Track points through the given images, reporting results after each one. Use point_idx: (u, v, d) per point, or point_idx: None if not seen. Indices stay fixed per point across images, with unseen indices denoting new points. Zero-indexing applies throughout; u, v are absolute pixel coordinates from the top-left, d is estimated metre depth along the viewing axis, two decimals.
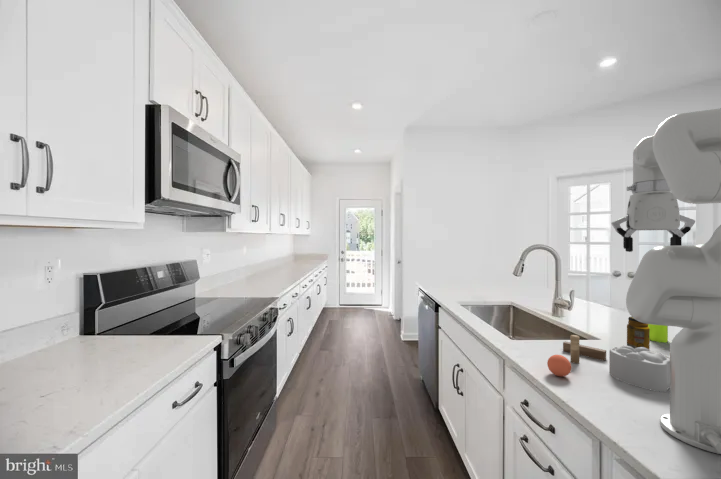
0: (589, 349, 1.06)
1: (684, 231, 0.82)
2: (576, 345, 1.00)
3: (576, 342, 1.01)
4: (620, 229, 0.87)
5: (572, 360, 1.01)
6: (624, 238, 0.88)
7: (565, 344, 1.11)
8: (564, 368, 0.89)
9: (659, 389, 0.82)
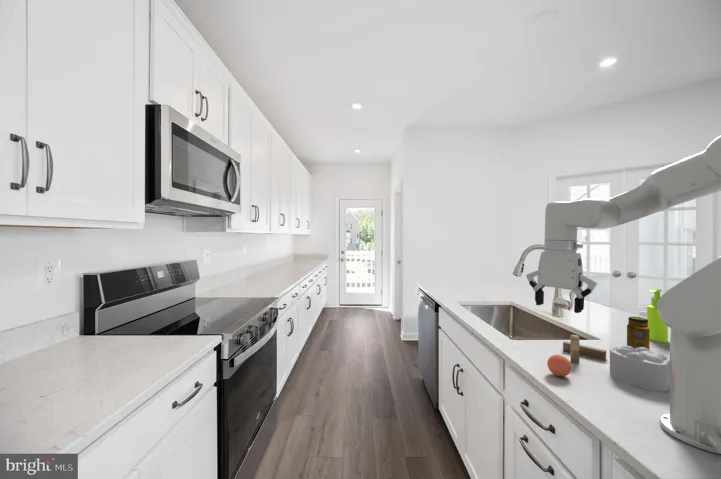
0: (589, 349, 1.06)
1: None
2: (576, 345, 1.00)
3: (576, 342, 1.01)
4: None
5: (572, 360, 1.01)
6: (583, 299, 0.82)
7: (565, 344, 1.11)
8: (564, 368, 0.89)
9: (659, 389, 0.82)
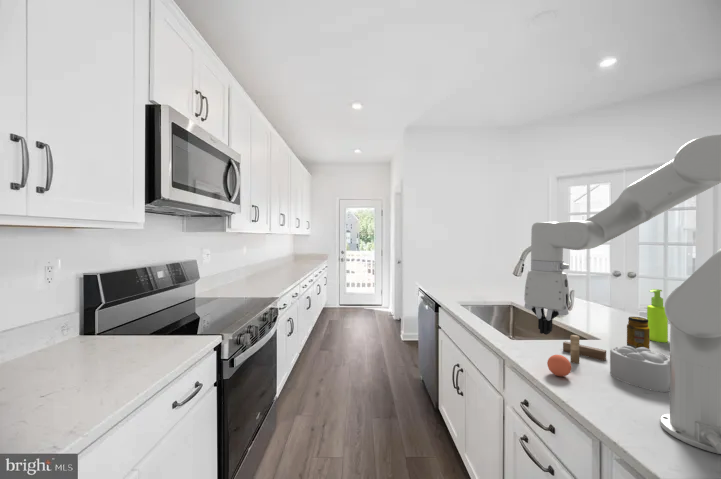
0: (589, 349, 1.06)
1: None
2: (576, 345, 1.00)
3: (576, 342, 1.01)
4: None
5: (572, 360, 1.01)
6: (551, 321, 0.85)
7: (565, 344, 1.11)
8: (564, 368, 0.89)
9: (660, 389, 0.82)
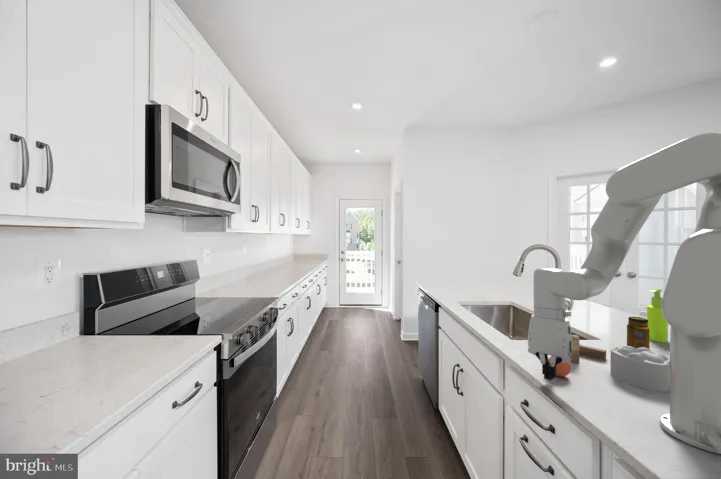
0: (589, 349, 1.06)
1: None
2: (576, 345, 1.00)
3: (576, 342, 1.01)
4: None
5: (572, 360, 1.01)
6: (555, 366, 0.86)
7: None
8: (564, 368, 0.89)
9: (660, 389, 0.82)
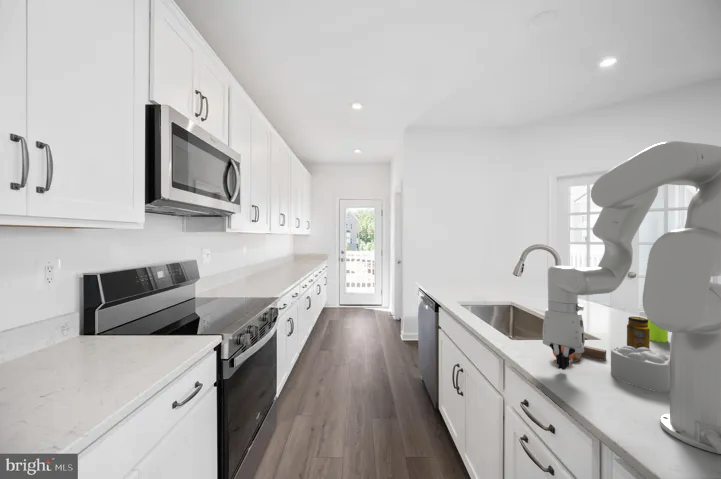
0: (589, 349, 1.06)
1: None
2: None
3: None
4: None
5: None
6: (568, 357, 0.93)
7: None
8: None
9: (661, 389, 0.82)
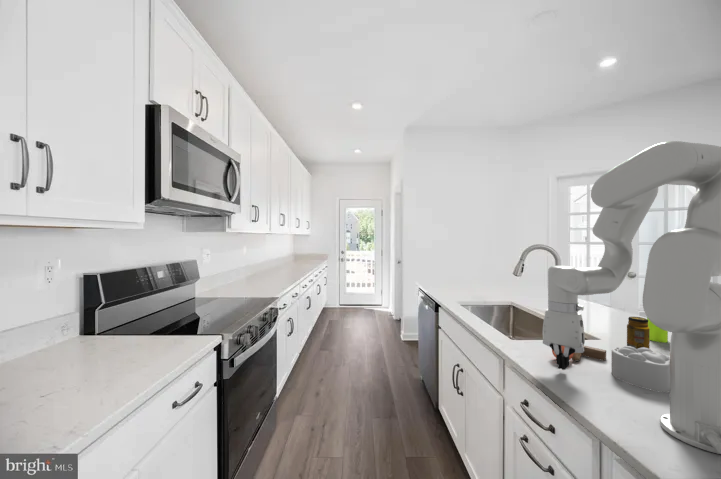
0: (589, 349, 1.06)
1: None
2: None
3: None
4: None
5: (573, 353, 1.03)
6: (568, 357, 0.93)
7: None
8: None
9: (661, 390, 0.82)
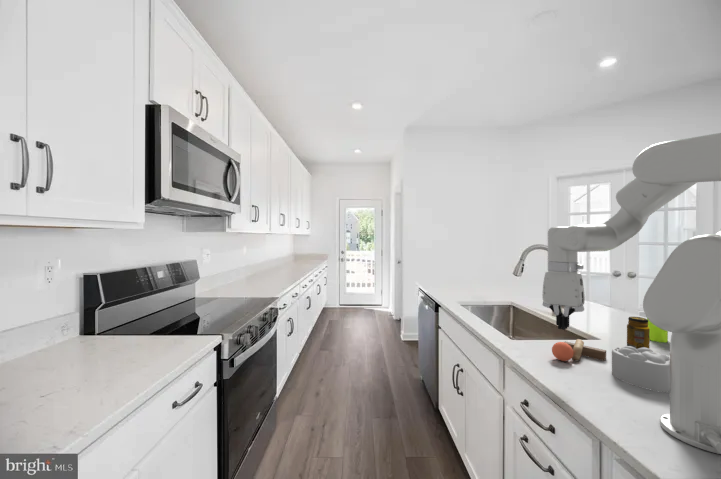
0: (589, 349, 1.06)
1: None
2: (580, 345, 1.05)
3: (580, 343, 1.06)
4: None
5: (573, 353, 1.03)
6: (568, 317, 0.93)
7: None
8: None
9: (662, 390, 0.82)
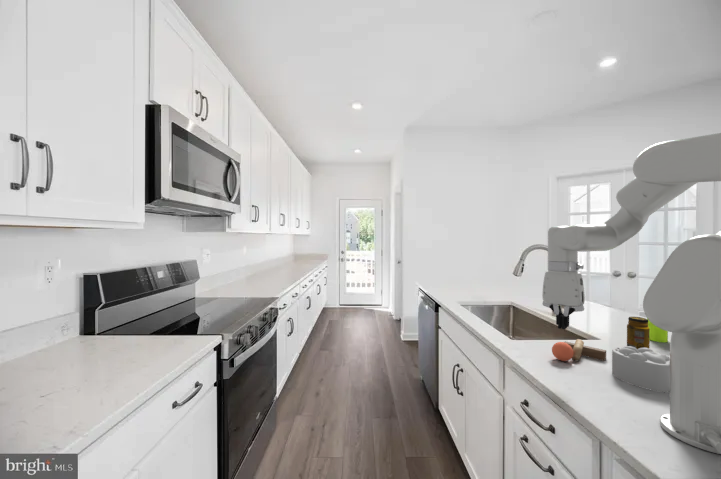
0: (589, 349, 1.06)
1: None
2: (580, 345, 1.05)
3: (580, 343, 1.06)
4: None
5: (573, 353, 1.03)
6: (568, 316, 0.93)
7: None
8: None
9: (662, 390, 0.82)
